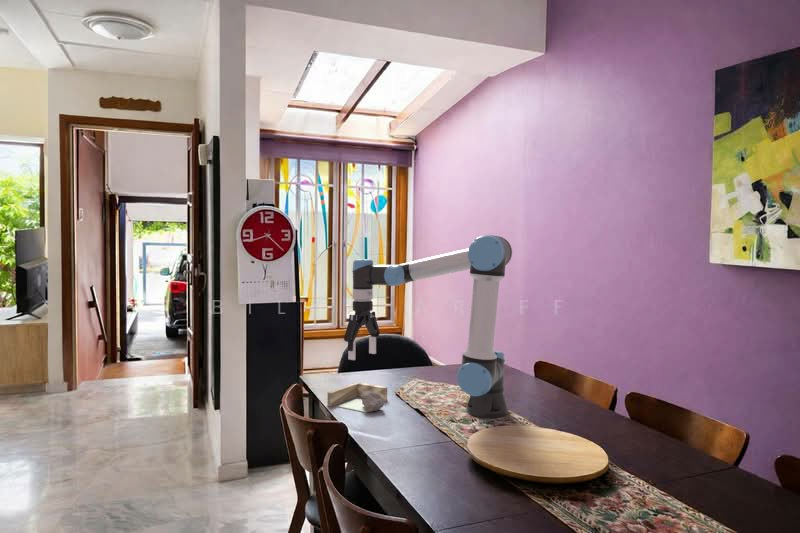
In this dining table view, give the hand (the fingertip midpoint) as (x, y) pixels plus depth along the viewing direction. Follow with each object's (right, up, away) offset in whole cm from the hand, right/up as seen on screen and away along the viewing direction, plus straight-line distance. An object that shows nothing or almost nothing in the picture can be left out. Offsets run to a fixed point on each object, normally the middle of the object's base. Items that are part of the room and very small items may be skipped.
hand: (362, 356), depth 199 cm
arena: (-2, -18, +5) cm, 19 cm away
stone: (+1, -18, 0) cm, 18 cm away
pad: (0, -19, +1) cm, 19 cm away
